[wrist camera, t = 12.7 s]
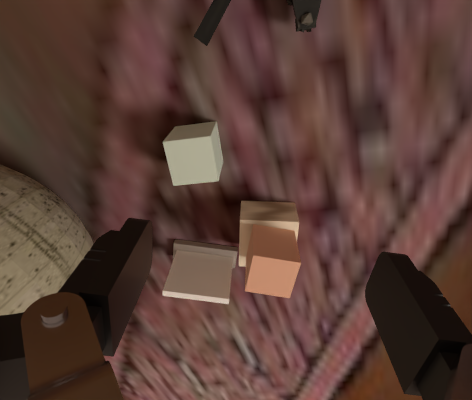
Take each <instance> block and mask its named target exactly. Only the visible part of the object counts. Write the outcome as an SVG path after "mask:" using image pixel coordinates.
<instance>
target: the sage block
mask: <svg viewBox="0 0 472 400" xmlns="http://www.w3.org/2000/svg"><path fill="white" fill-rule="evenodd" d="M163 146H164V150H165V154H166V158H167V162H168V166H169V170H170V174H171V178H172V182H173V186H177V185H186V184H196V183H205V182H215V181H219V177H220V173H221V168H222V164H223V157H222V151H221V145H220V139H219V133H218V127H217V121H215V122H207V123H199V124H191V125H183V126H175V127H174V129H173V130H172V131H171V132H170V133H169V135H168V136H167V137H166V138H165V140H164V141H163Z"/></svg>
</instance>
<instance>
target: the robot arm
mask: <svg viewBox="0 0 472 400" xmlns="http://www.w3.org/2000/svg"><path fill="white" fill-rule="evenodd" d="M151 263H152V222H151V221H150V220H142V219H134V218H128V219H127V221H126V222H125V224H124V225H123V227H122V228H121V230H120V231H113V230H110V231H109V232H107V233H106V234H104V235H102V236H101V237H99V238H98V239H97V240H96V242H95V243H94V244H93V246H92V247H91V248H90V251H88V252H87V254H86V255H85V256H84V259H82V260H81V262H80V263H79V264H78V266H77V267H76V268H75V270H74V271H73V273H72V274H71V275H70V277H69V278H68V279H67V281H66V282H65V283H64V285H63V286H62V287H61V289H60V290H59V291H58V293H54V294H50V295H47V296H44V297H42V298H40V299H38V300H37V301H35V302H34V303H32V304H31V305H30V306H29V307H28V308H27V309H26V310H25V312H22V313H17V314H9V315H1V316H0V400H124V399H123V396H122V394H121V391H120V388H119V385H118V383H117V380H116V377H115V374H114V372H113V369H112V366H111V364H110V362H109V361H105V358H104V356H103V355H105V356H114V354H115V352H116V349H117V347H118V345H119V342H120V340H121V338H122V335H123V333H124V331H125V328H126V326H127V324H128V321H129V319H130V317H131V314H132V312H133V310H134V307H135V305H136V303H137V300H138V298H139V296H140V293H141V291H142V289H143V286H144V284H145V282H146V279H147V277H148V275H149V272H150V268H151ZM365 298H366V302H367V305H368V307H369V310H370V312H371V315H372V317H373V319H374V322H375V324H376V327H377V329H378V332H379V334H380V336H381V339H382V341H383V344H384V346H385V348H386V351H387V353H388V356H389V358H390V360H391V363H392V365H393V368H394V370H395V373H396V375H397V377H398V380H399V382H400V385H401V387H402V389H403V392H404V394H410V395H418V396H422V398H423V400H472V334H471V333H470V332H469V330H468V329H467V327H466V326H465V325H464V323H463V322H462V321H461V319H460V318H459V316H458V315H457V314H456V312H455V311H454V309H453V308H451V307H450V304H449V302H448V301H447V300H446V298H445V297H443V294H442V293H441V291H440V290H439V288H438V287H437V286H436V284H435V283H434V282H433V281H432V280H431V279H430V278H428V277H427V276H426V275H425V274H424V273H422V272H421V271H418V270H417V269H416V267H415V266H414V264H413V263H412V261H411V260H410V258H409V257H408V256H407V255H405V254H397V253H390V252H382V253H381V254H380V255H379V257H378V259H377V261H376V264H375V266H374V268H373V271H372V273H371V275H370V278H369V280H368V282H367V285H366V290H365Z"/></svg>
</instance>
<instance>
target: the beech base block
mask: <svg viewBox="0 0 472 400" xmlns="http://www.w3.org/2000/svg"><path fill="white" fill-rule="evenodd" d="M253 224H255V225H262V226H268V227H274V228H280V229H286V230H293V231H295V236H296V241H297V236H298V228H299V219H298V215H297V210H296V206H295V203H294V202H265V201H241V212H240V237H239V266H246V255H247V250H248V246H249V241H250V237H251V232H252V228H253Z"/></svg>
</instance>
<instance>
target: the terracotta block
mask: <svg viewBox="0 0 472 400" xmlns="http://www.w3.org/2000/svg"><path fill="white" fill-rule="evenodd" d="M300 265H301V260H300V256H299V251H298V246H297V241H296V236H295V231H293V230H286V229H280V228H274V227H268V226H262V225H255V224H253V228H252V232H251V237H250V241H249V246H248V250H247V255H246V275H245V291H247V292H253V293H260V294H266V295H273V296H279V297H286V298H290V295H291V292H292V289H293V286H294V283H295V280H296V277H297V274H298V271H299V268H300Z"/></svg>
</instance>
